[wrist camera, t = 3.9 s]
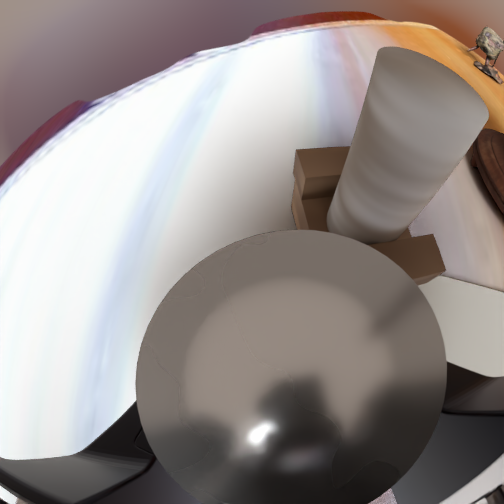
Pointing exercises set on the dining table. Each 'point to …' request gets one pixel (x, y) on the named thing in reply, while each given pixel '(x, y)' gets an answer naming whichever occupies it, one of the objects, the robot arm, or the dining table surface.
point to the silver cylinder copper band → (291, 373)
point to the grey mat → (469, 323)
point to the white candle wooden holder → (392, 160)
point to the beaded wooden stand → (491, 162)
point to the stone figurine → (489, 51)
